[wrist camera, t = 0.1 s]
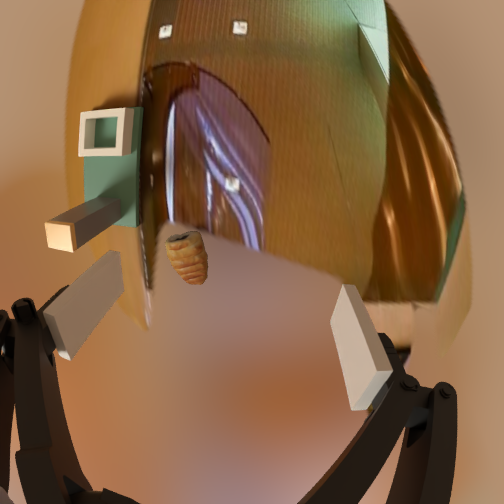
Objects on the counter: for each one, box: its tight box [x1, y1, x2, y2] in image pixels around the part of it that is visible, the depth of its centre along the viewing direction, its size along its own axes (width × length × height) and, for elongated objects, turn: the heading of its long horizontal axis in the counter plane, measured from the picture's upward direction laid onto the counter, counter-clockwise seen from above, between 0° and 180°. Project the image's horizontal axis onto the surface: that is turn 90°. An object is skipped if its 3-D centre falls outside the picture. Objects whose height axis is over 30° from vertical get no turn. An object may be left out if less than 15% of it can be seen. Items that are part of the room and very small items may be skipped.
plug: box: [45, 197, 121, 252], centre depth 35 cm, size 4×5×14 cm
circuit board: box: [84, 107, 144, 227], centre depth 39 cm, size 20×11×1 cm, turn 173°
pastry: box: [165, 231, 208, 285], centre depth 44 cm, size 9×7×4 cm
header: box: [79, 108, 134, 157], centre depth 35 cm, size 7×9×3 cm
